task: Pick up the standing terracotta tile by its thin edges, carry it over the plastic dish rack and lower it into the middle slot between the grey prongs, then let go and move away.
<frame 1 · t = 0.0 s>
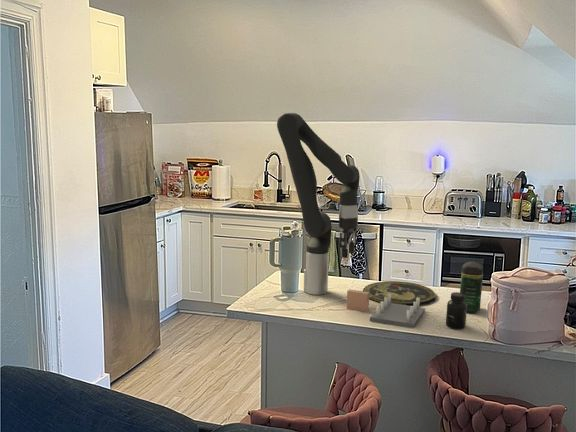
hand: (348, 255, 242), 17 cm above the countertop, tool pointing down, fingers open, 8 cm apart
dish rack: (398, 316, 222), on the countertop
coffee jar: (469, 310, 231), on the countertop
decorative plate: (398, 296, 248), on the countertop
supplement bottle: (455, 327, 213), on the countertop
tile: (357, 309, 229), on the countertop
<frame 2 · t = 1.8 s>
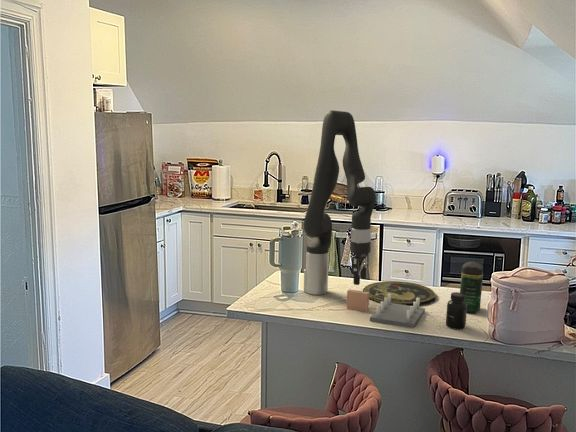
hand: (359, 281, 227), 11 cm above the countertop, tool pointing down, fingers open, 8 cm apart
nothing on the countertop moved.
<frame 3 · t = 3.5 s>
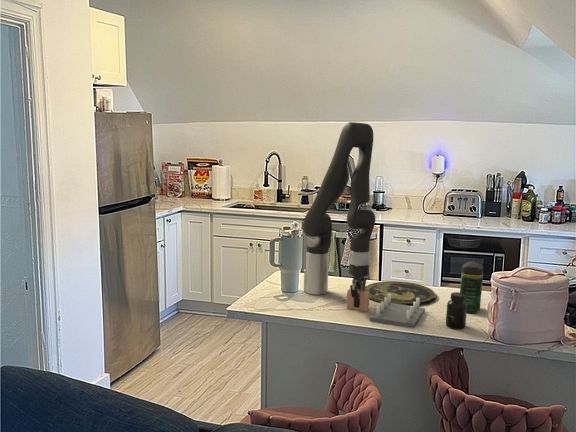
hand: (357, 305, 229), 1 cm above the countertop, tool pointing down, fingers closed on tile, 2 cm apart
tile: (357, 308, 229), on the countertop, touching gripper
everything else where it was.
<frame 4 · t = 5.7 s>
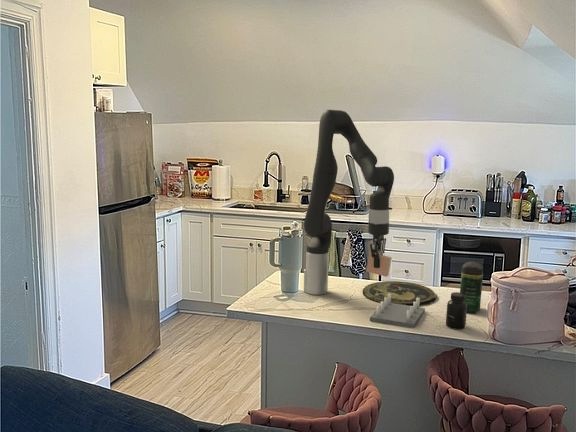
hand: (377, 266, 223), 18 cm above the countertop, tool pointing down, fingers closed on tile
tile: (377, 273, 223), point 15 cm above the countertop, tilted 7°, touching gripper
everything else where it was.
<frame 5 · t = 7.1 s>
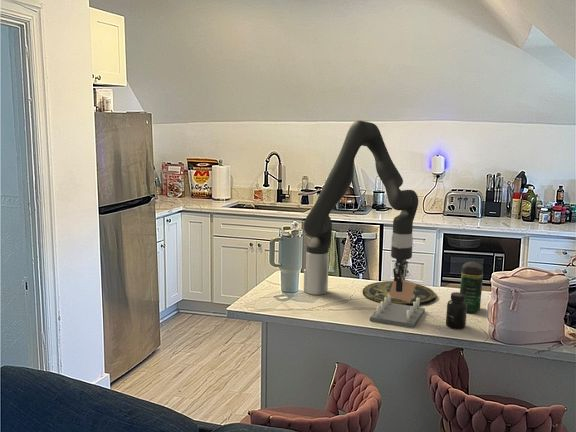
hand: (399, 290, 220), 10 cm above the countertop, tool pointing down, fingers closed on tile
tile: (400, 297, 221), point 7 cm above the countertop, tilted 13°, touching gripper
everything else where it was.
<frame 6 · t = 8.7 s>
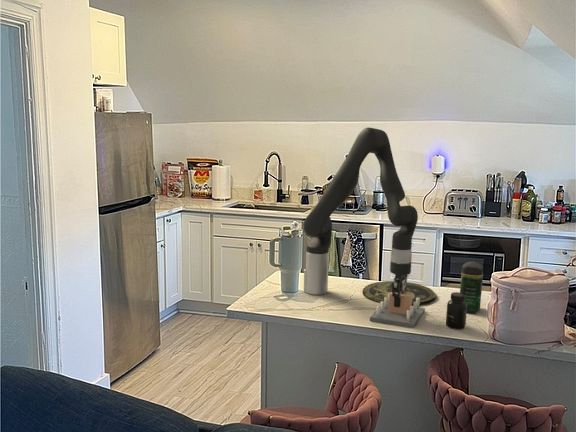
hand: (398, 304, 221), 5 cm above the countertop, tool pointing down, fingers open, 4 cm apart
tile: (400, 312, 222), point 1 cm above the countertop, touching dish rack
everything else where it was.
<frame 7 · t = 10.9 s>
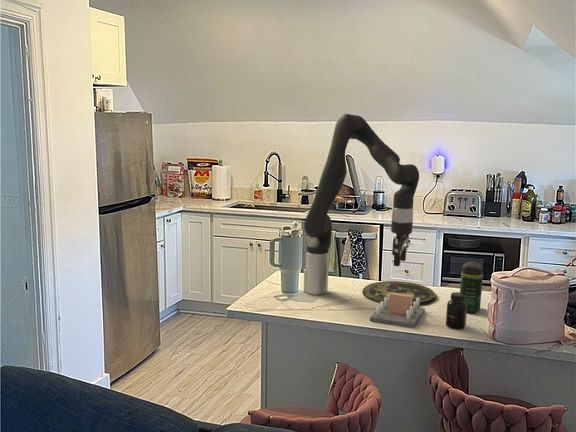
hand: (399, 263, 219), 20 cm above the countertop, tool pointing down, fingers open, 8 cm apart
nothing on the countertop moved.
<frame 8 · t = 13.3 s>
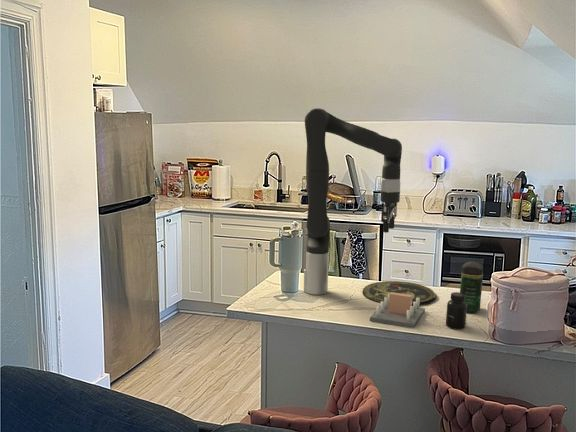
hand: (388, 230, 238), 28 cm above the countertop, tool pointing down, fingers open, 8 cm apart
nothing on the countertop moved.
at the end: tile 0.7 cm off-centre on the dish rack, point 1.5 cm above the dish rack's base; tile tilted 0°; the gripper is holding nothing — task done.
